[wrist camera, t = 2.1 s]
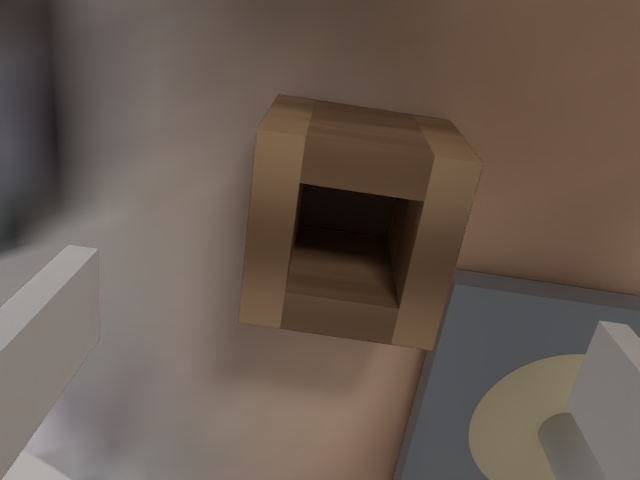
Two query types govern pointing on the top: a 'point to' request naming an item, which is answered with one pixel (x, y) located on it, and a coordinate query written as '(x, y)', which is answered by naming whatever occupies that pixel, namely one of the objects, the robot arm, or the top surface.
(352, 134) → the collar
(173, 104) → the top surface
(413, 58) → the top surface
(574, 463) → the post block
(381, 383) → the top surface
